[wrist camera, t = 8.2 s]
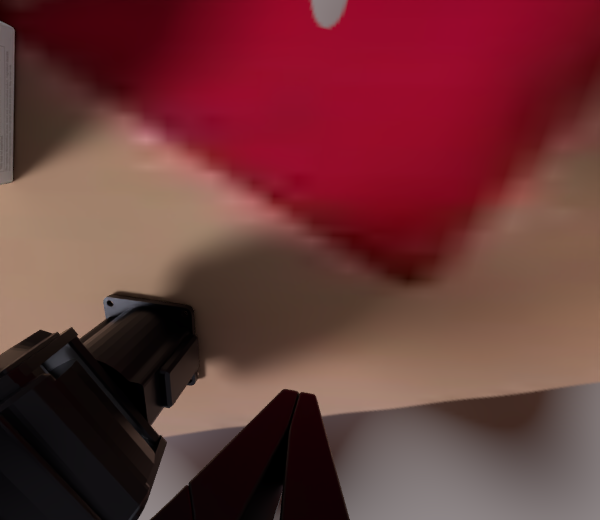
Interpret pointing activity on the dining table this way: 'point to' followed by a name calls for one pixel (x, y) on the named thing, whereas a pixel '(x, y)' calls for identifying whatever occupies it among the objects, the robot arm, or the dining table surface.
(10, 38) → the supplement box
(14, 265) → the dining table surface
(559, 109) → the dining table surface
